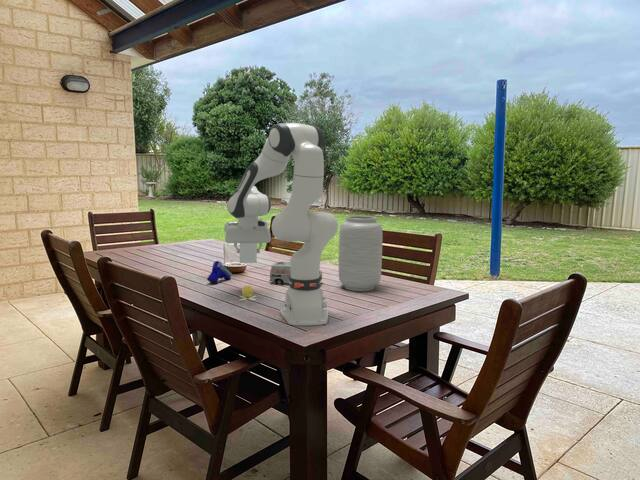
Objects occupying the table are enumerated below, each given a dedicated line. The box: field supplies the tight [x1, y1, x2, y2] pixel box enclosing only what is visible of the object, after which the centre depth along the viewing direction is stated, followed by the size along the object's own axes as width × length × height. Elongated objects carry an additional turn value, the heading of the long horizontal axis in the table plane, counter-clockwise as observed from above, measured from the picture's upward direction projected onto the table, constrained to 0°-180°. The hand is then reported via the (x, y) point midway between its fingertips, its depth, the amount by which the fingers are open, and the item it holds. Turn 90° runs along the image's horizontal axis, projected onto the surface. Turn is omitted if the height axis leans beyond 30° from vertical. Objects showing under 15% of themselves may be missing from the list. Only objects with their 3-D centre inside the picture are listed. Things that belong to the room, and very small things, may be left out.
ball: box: [241, 285, 254, 297], centre depth 200 cm, size 5×5×5 cm
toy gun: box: [206, 260, 233, 285], centre depth 227 cm, size 4×13×10 cm
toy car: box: [269, 261, 323, 286], centre depth 226 cm, size 11×25×10 cm, turn 79°
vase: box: [338, 215, 383, 292], centre depth 217 cm, size 20×20×34 cm
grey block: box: [239, 243, 258, 264], centre depth 208 cm, size 7×7×9 cm
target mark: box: [239, 295, 258, 302], centre depth 198 cm, size 9×9×1 cm
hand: (248, 252), depth 208 cm, fingers closed on grey block, 7 cm apart
